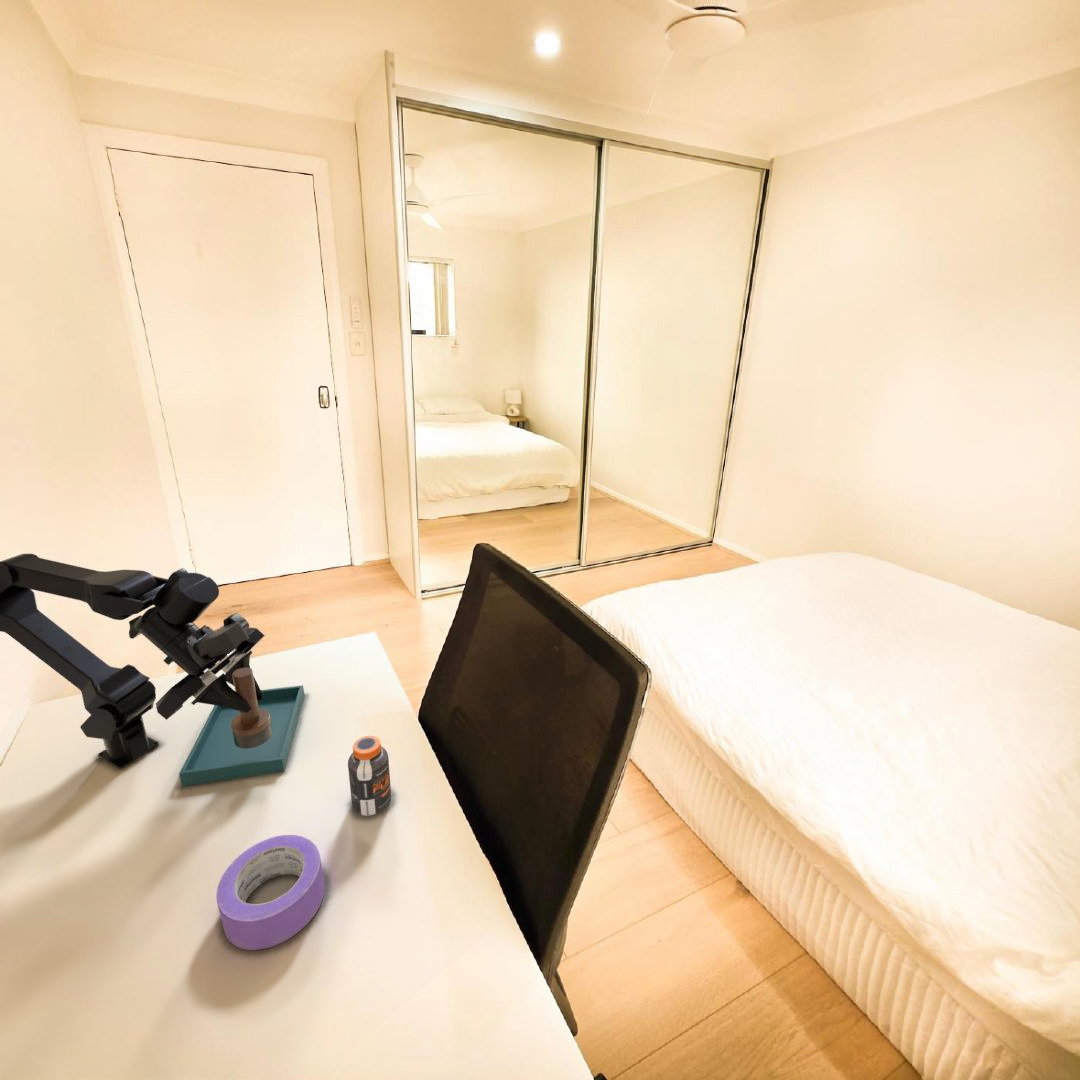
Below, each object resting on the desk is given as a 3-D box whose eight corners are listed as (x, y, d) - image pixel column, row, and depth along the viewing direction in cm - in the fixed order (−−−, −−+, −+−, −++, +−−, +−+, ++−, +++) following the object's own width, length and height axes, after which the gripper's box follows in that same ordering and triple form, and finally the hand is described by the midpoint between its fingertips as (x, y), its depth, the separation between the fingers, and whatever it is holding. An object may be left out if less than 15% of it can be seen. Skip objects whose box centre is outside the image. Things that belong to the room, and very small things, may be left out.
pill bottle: (380, 820, 80) (374, 760, 76) (344, 813, 81) (337, 754, 78) (398, 790, 86) (393, 733, 82) (364, 784, 87) (358, 727, 83)
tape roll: (212, 897, 68) (205, 869, 67) (305, 845, 76) (301, 818, 74) (238, 973, 60) (231, 943, 59) (339, 906, 68) (335, 878, 66)
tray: (284, 771, 89) (282, 759, 88) (182, 786, 85) (178, 773, 84) (304, 695, 108) (303, 685, 107) (222, 705, 105) (219, 694, 104)
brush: (231, 752, 84) (218, 685, 80) (237, 729, 89) (225, 665, 85) (270, 744, 86) (260, 679, 82) (273, 722, 91) (264, 660, 87)
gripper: (158, 639, 71) (246, 716, 74) (246, 583, 89) (315, 647, 92) (118, 683, 75) (204, 755, 78) (210, 621, 92) (278, 681, 95)
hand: (255, 704), depth 85 cm, fingers closed on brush, 3 cm apart
